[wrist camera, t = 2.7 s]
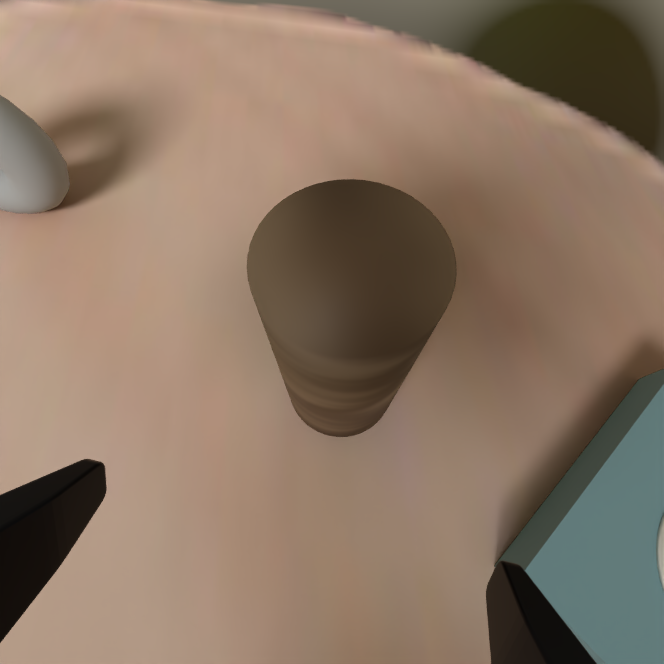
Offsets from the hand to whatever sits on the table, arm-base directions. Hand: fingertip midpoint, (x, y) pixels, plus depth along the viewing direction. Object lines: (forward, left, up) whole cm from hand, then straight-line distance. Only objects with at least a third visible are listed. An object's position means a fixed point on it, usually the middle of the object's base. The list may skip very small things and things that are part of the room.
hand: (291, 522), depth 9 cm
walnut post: (+4, +6, -13) cm, 15 cm away
